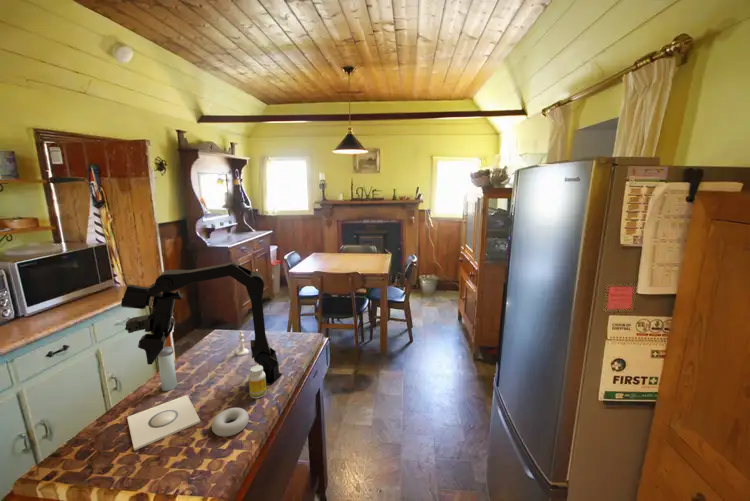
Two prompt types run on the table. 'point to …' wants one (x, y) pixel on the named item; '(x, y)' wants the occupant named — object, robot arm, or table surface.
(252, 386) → the supplement bottle
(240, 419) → the donut
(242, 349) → the chess piece
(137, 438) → the card
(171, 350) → the tube
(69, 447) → the table surface
